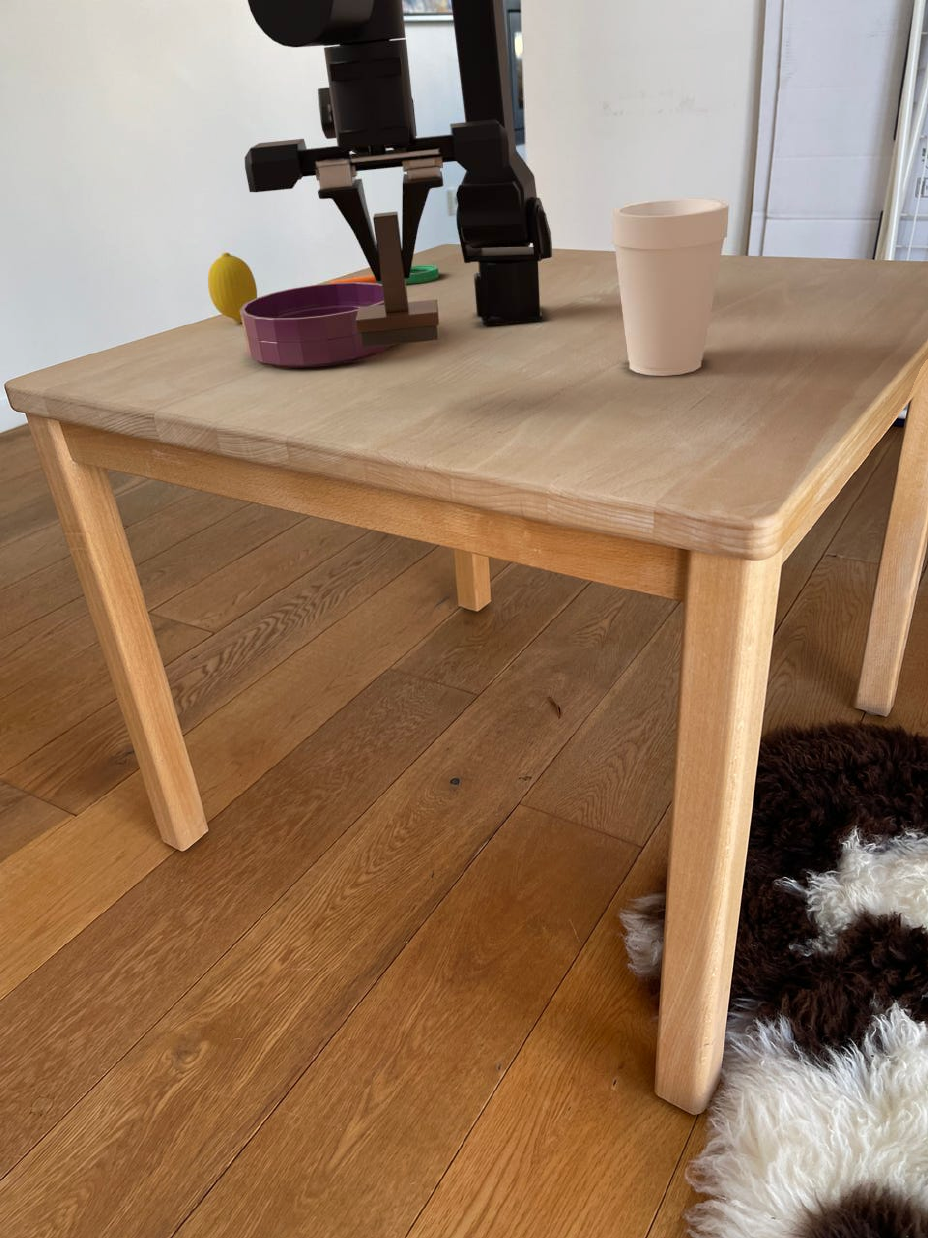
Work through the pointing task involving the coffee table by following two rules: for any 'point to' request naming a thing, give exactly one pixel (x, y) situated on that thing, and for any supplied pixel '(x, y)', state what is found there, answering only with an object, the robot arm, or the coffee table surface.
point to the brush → (395, 296)
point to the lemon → (231, 285)
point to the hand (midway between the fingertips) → (393, 278)
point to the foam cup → (668, 279)
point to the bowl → (309, 325)
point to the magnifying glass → (416, 276)
